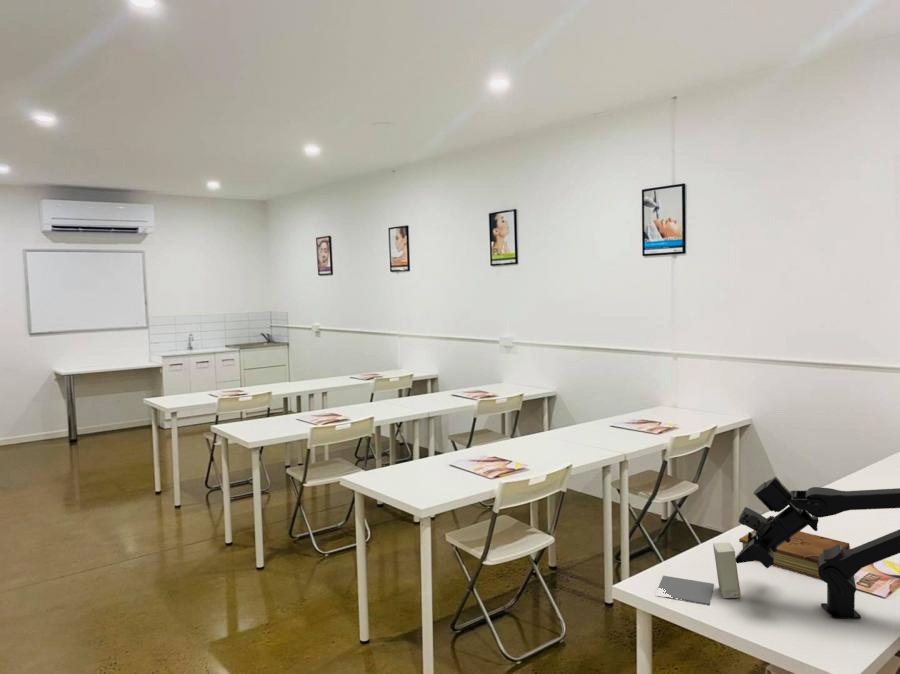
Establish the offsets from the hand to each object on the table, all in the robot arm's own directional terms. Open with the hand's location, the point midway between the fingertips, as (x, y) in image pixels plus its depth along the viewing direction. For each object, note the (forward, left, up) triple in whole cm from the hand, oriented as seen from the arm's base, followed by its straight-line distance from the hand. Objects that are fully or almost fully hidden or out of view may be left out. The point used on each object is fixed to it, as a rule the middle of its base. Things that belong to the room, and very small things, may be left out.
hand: (736, 561), depth 168 cm
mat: (+2, +12, -9) cm, 15 cm away
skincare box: (+1, +1, -9) cm, 9 cm away
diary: (+24, -24, -10) cm, 35 cm away
